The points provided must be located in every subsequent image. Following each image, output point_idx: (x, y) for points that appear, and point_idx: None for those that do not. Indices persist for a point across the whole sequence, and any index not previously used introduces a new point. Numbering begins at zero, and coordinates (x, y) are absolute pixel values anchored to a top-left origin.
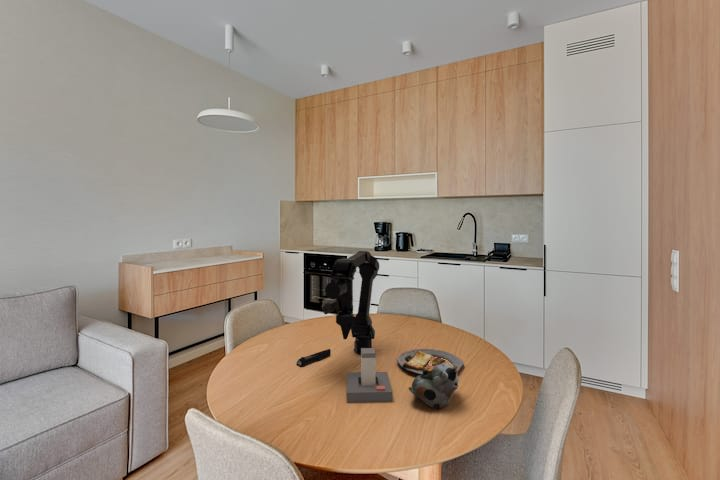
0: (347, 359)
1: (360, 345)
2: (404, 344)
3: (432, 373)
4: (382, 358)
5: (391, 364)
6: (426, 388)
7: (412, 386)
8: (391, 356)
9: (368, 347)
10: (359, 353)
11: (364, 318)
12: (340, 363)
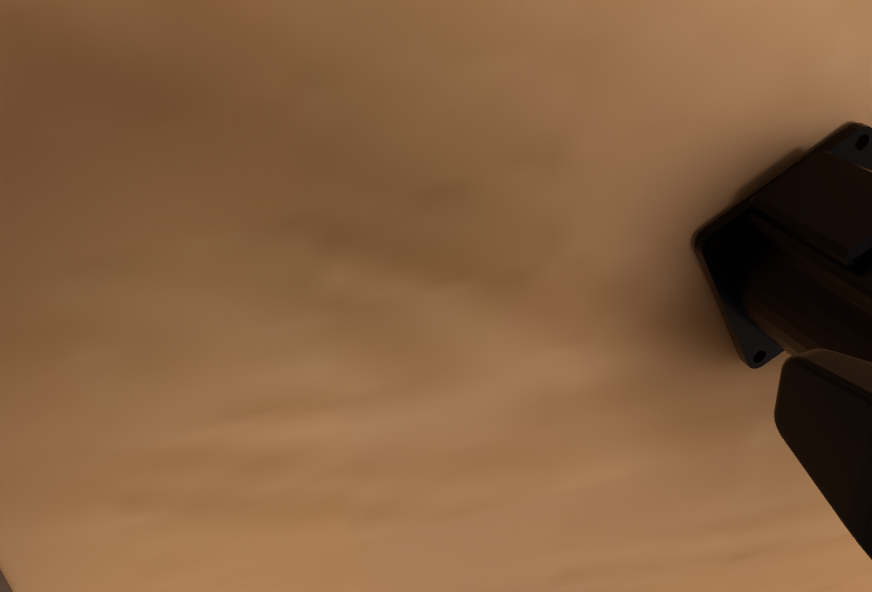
0: (580, 92)
1: (814, 278)
2: (865, 555)
3: None
4: (588, 473)
5: (444, 578)
6: None
7: None
8: (630, 531)
9: (786, 350)
10: (716, 231)
11: None
12: (442, 8)
